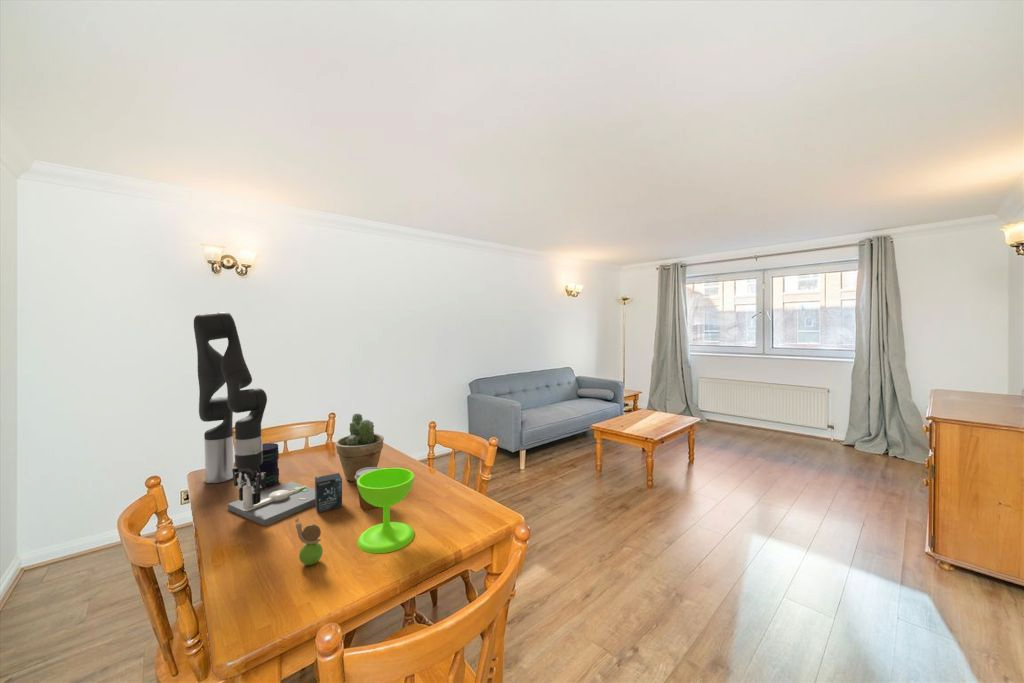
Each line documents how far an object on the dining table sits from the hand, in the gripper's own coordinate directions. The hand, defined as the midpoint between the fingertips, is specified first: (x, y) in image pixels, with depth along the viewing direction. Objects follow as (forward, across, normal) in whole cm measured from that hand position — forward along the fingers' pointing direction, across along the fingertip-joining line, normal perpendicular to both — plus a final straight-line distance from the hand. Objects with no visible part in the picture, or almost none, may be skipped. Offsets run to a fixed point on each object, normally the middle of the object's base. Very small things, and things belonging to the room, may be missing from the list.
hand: (249, 501), depth 127 cm
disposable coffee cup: (+5, +29, +22) cm, 37 cm away
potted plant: (+5, +7, +40) cm, 41 cm away
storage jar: (+5, -21, +19) cm, 29 cm away
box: (+5, +18, +16) cm, 24 cm away
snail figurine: (+5, +40, -10) cm, 41 cm away
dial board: (+5, 0, +10) cm, 11 cm away
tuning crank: (+3, 0, +10) cm, 10 cm away
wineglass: (+5, +49, +9) cm, 50 cm away
